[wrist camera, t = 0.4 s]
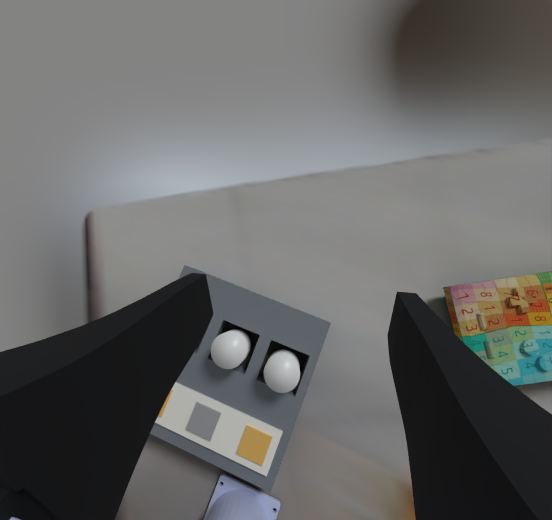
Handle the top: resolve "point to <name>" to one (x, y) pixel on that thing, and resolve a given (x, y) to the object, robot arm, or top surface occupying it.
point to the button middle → (230, 348)
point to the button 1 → (282, 371)
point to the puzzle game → (507, 324)
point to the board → (240, 388)
